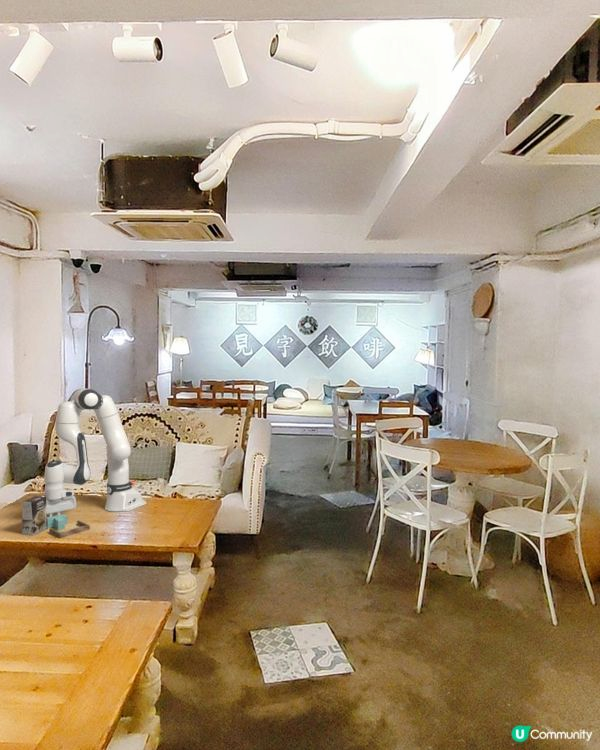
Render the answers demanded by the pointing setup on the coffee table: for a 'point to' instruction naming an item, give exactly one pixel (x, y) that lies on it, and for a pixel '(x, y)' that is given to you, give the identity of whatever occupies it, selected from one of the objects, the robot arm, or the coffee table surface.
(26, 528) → the coffee box
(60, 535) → the dark u-shaped bracket
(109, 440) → the robot arm
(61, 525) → the t block
